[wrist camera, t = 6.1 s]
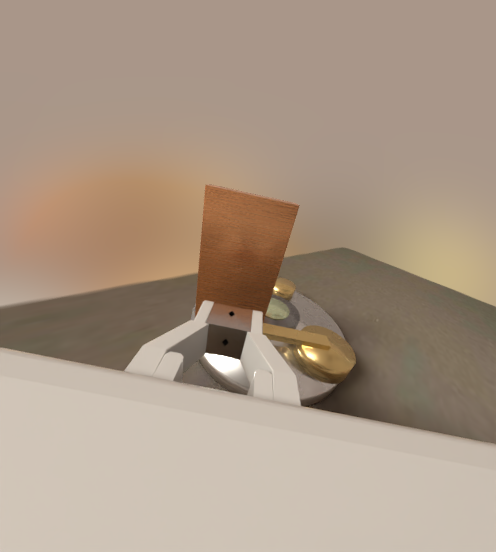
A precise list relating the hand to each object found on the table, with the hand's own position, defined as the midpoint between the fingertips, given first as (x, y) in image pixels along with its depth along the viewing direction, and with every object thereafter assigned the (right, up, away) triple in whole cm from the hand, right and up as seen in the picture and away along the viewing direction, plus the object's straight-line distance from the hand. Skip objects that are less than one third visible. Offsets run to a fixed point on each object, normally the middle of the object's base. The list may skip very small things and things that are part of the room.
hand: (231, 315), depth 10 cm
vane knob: (+3, -5, +7) cm, 9 cm away
